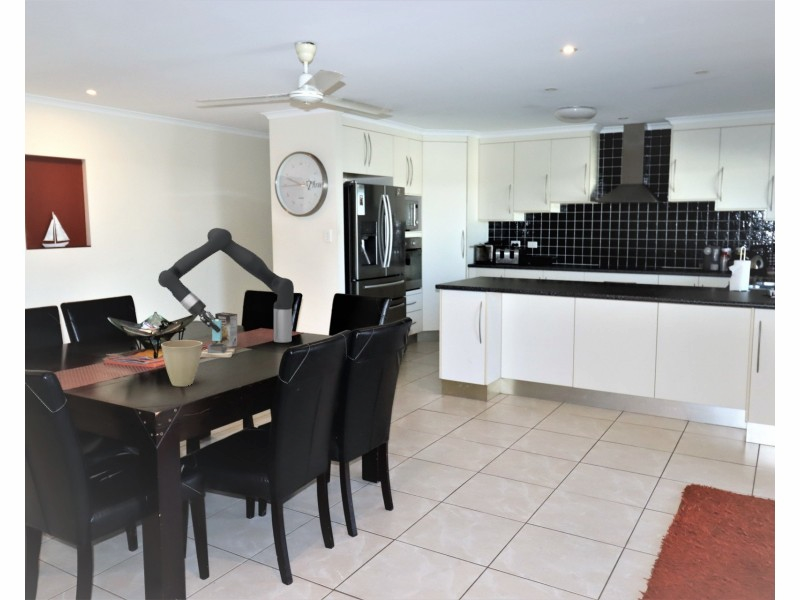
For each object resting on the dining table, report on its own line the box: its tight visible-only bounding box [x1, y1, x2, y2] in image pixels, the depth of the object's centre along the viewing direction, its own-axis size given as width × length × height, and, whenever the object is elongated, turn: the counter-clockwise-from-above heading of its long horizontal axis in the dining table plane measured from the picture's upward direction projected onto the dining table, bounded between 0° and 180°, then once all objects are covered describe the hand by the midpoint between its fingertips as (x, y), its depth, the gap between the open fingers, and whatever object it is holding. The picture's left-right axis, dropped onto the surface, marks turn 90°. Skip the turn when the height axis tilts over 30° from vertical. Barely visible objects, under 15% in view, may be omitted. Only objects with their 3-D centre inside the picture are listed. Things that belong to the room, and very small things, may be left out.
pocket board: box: [200, 343, 236, 358], centre depth 291 cm, size 14×14×4 cm
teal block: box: [211, 319, 222, 342], centre depth 289 cm, size 4×4×10 cm
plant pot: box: [160, 339, 203, 387], centre depth 237 cm, size 15×15×16 cm
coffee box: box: [214, 311, 238, 348], centre depth 310 cm, size 9×6×16 cm
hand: (220, 330), depth 289 cm, fingers closed on teal block, 4 cm apart
